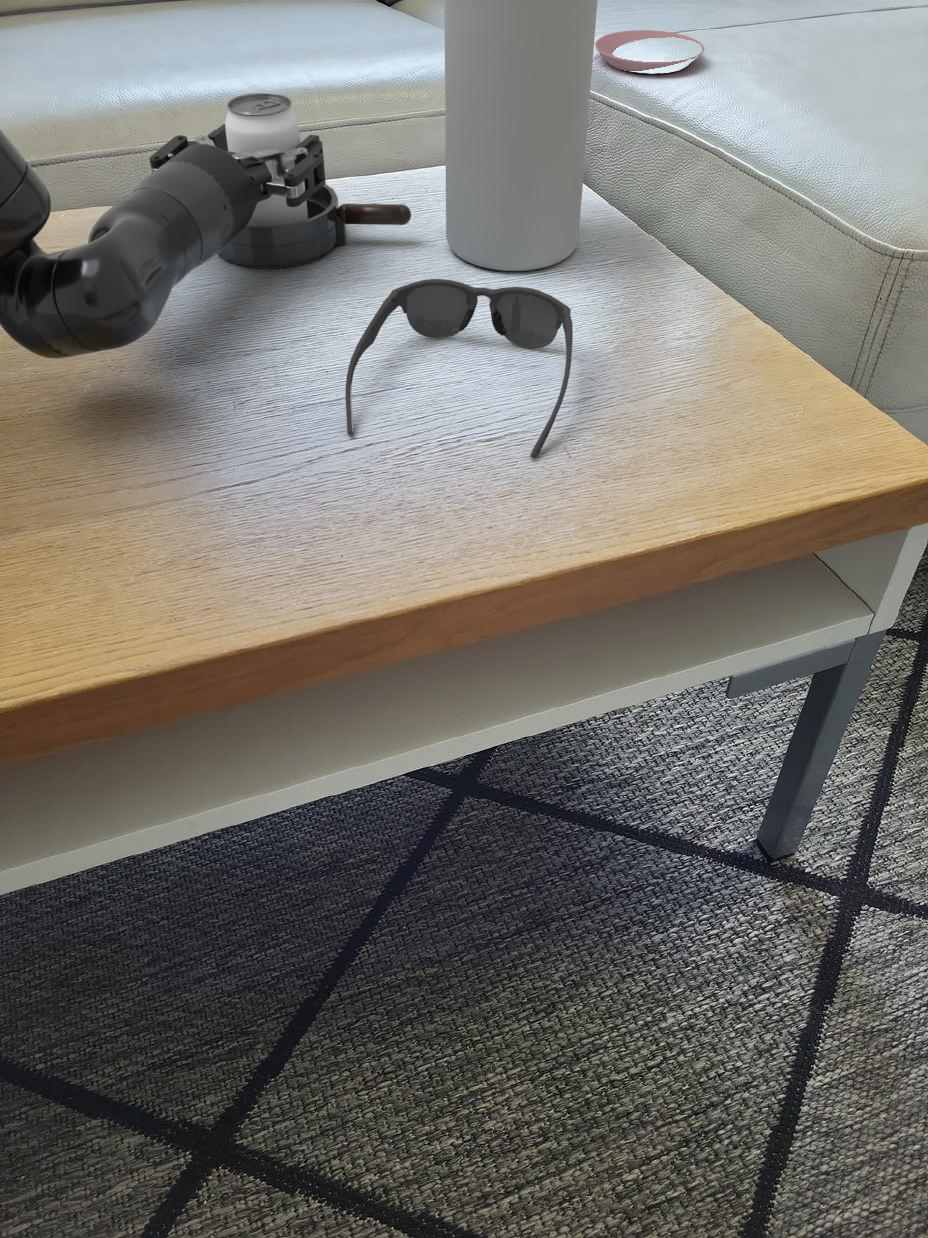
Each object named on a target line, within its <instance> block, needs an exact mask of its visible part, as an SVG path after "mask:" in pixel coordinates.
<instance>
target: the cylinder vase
mask: <svg viewBox="0 0 928 1238" xmlns="http://www.w3.org/2000/svg"><path fill="white" fill-rule="evenodd" d="M597 11H598V0H444V127H445V128H444V130H445V133H444V134H445V137H444V141H445V143H444V144H445V239H446V242H447V244H448V245H447V246H448V247H449V248H450V250H451V251H452V252H453V253H454V254H455V255H456V256H457V257H459V258H460V259H461V260H463V261H465V262H467V263H470V264H472V265H475V266H478V267H481V268H485V269H490V270H495V271H505V272H524V271H535V270H539V269H543V268H548V267H551V266H553V265H554V266H555V265H556V264H558V263H560V262H562V261H563V260H565V259H567V258H568V257H569V256H570V255H572V253H573V252H574V251H575V249H576V248H577V246H578V244H579V236H580V223H581V213H582V212H581V211H582V200H583V185H584V175H585V174H584V173H585V164H586V163H585V162H586V151H587V150H586V149H587V138H588V137H587V135H588V125H589V124H588V123H589V110H590V100H591V98H590V97H591V87H592V73H593V63H594V62H593V60H594V50H595V49H594V48H595V35H596V26H597V25H596V23H597V13H598V12H597Z"/></svg>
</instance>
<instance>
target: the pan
mask: <svg viewBox="0 0 928 1238" xmlns="http://www.w3.org/2000/svg"><path fill="white" fill-rule="evenodd" d="M306 202H307V213H308V220H304V221H300V222H296V223H293V224H286V225H277V226H249V225H246V226H245V227H244V228H243V229H242V230H241V231H240V232H239V233H238V234H237V235H236V236H234V237H233V238H232V239H231V240H230V241H229V242H228V243H227V244H226V245H225V246H224V247H222V248H221V249H220V250H219V251H218V252H217V253H218V254H219V256H221V257H222V258H223V259H225V260H227V261H229V262H231V263H233V264H236V265H239V266H242V267H248V268H257V269H284V268H291V267H296V266H300V265H304V264H308V263H311V262H313V261H316V260H318V259H320V258H322V257H323V256H325V255H327V254H328V253H329V252H330V251H331V250H332V249H333V248H334V245H335V244H336V243H337V242H338V240H339V237H338V225H337V209H338V208H339V198H338V195H337V193H336V191H335V190H334V188H332V187H331V186H329V185H327V183H326V184H325V185H324V186H323V187H321V188H320V189H319V190H318V191H317V192H315V193H314V194H313V195H312V196H310V197H309V198H308V199H307V200H306Z"/></svg>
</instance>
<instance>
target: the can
mask: <svg viewBox="0 0 928 1238" xmlns="http://www.w3.org/2000/svg"><path fill="white" fill-rule="evenodd" d="M292 102H293V101H292V100H291V99H290V98H289V97H288V96H287V95H283V94H281V93H274V92H251V93H246V94H241V95H238V96H235V97H233V98H231V99H230V100H228V102H227V103H226V107H227V114H226V118H225V121H224V124H225V129H226V137H227V144H228V151H229V152H235V153H240V152H244V151H246V152H248V153H253V152H257V151H261V150H265V149H270V148H277V149H279V150H280V151H282V152H283V151H287V150H291V149H295V147H297V146H298V145H299V144H300V143H301V142H302V141H301V134H300V133H301V131H300V124H299V119H298V117H297V115H296V112H295V111H294V109H293V108H292V105H293V103H292ZM265 164H266V166H267V167H268V169H269V171H270V173H271V175H272V179H274V175H273V166H272V160H270V161H266V162H265ZM294 166H295V162H294V160H293V161H289V162H287V164H286V169H290V170H291V169H292V168H293V167H294ZM304 220H308V213H307V202H306V201H304V202H303V203H302V204H301V205H300V206H297V207H289V206H287V204H286V196H280V195H272V196H271V197H270V198H268V199H266V200H263V201H260V202H258V203H257V205H256V207H255V210H254V212H253V215H252V217H251V219H250V221H249V222H248V224H247V225H249V226H277V225H286V224H293V223H296V222H300V221H304Z"/></svg>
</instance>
